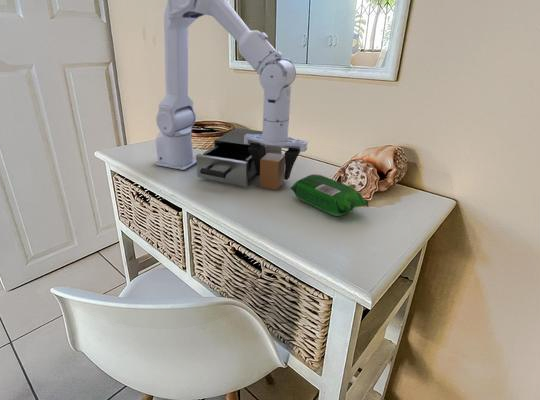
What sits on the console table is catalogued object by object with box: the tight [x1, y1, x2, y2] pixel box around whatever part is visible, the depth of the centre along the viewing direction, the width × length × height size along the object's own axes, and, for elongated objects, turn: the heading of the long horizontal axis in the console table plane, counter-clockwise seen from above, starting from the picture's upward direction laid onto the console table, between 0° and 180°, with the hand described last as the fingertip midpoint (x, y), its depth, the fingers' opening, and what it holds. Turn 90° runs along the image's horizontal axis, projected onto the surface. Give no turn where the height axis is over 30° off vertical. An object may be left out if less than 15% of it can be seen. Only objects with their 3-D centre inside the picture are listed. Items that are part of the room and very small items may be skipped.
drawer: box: [195, 144, 257, 187], centre depth 81 cm, size 17×13×6 cm
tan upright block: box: [259, 153, 285, 191], centre depth 78 cm, size 4×5×7 cm
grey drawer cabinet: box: [213, 127, 283, 175], centre depth 92 cm, size 13×14×7 cm
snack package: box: [290, 173, 369, 217], centre depth 69 cm, size 7×16×5 cm, turn 35°
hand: (273, 175), depth 79 cm, fingers open, 6 cm apart
